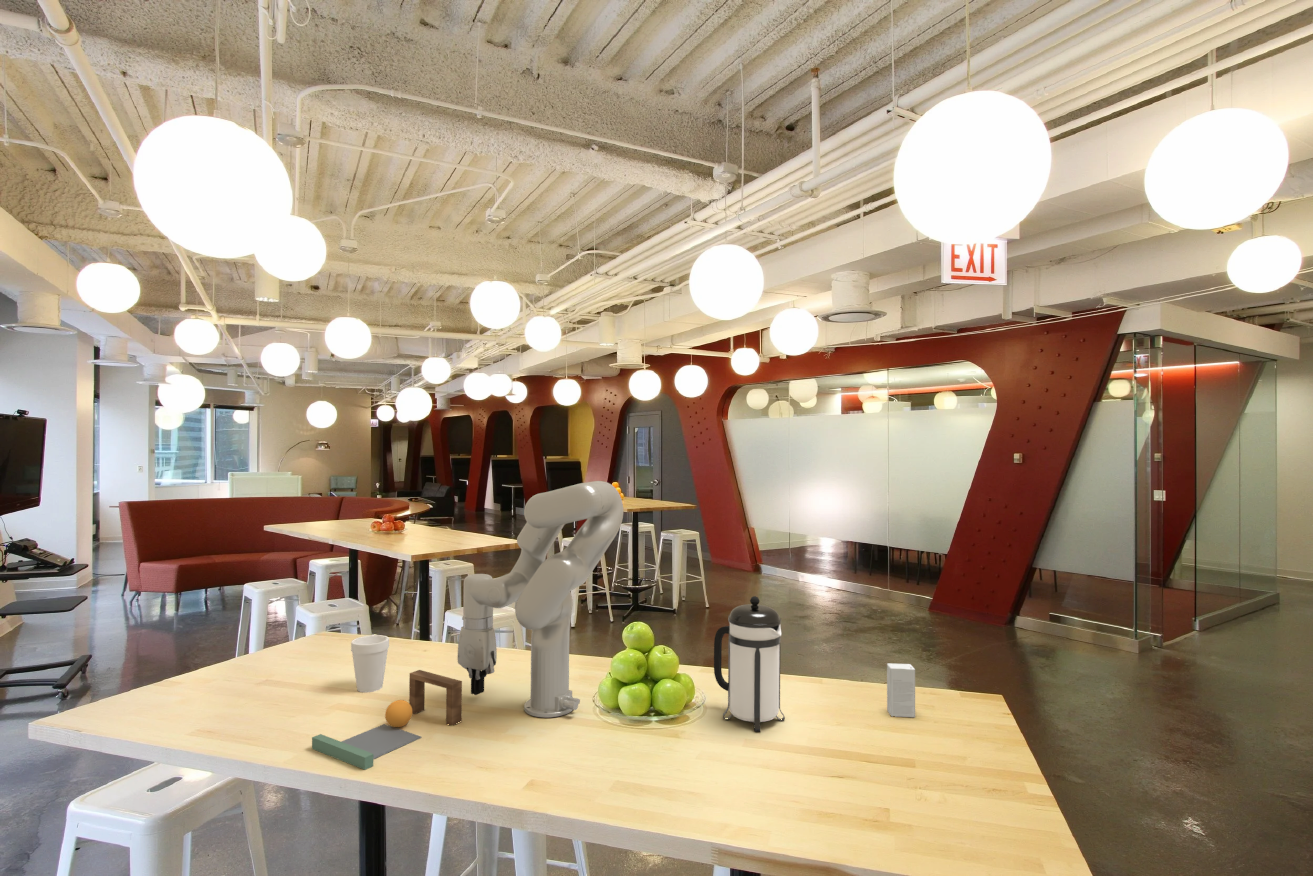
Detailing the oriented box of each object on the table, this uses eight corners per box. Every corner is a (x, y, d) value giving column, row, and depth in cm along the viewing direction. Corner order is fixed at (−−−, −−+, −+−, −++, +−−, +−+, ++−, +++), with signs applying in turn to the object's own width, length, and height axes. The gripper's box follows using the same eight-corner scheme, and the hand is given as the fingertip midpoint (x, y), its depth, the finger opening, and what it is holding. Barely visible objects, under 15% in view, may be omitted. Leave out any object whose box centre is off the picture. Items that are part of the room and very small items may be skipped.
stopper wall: (373, 766, 143) (373, 754, 143) (364, 770, 141) (364, 757, 141) (320, 745, 152) (320, 734, 152) (311, 748, 150) (312, 737, 150)
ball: (411, 696, 162) (389, 712, 158) (420, 718, 163) (399, 734, 159) (398, 693, 166) (376, 708, 162) (407, 714, 167) (386, 730, 163)
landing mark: (421, 737, 157) (421, 736, 157) (371, 760, 145) (371, 759, 145) (384, 724, 163) (384, 724, 163) (333, 745, 152) (333, 744, 152)
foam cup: (362, 697, 180) (363, 647, 180) (344, 689, 186) (344, 640, 186) (395, 687, 188) (396, 639, 188) (376, 679, 194) (377, 633, 194)
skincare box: (910, 711, 174) (911, 663, 174) (915, 718, 170) (915, 669, 170) (886, 710, 175) (886, 662, 175) (890, 716, 171) (890, 668, 171)
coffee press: (781, 707, 176) (782, 589, 176) (787, 734, 160) (788, 604, 160) (713, 704, 178) (714, 587, 178) (712, 730, 162) (713, 602, 162)
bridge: (419, 708, 173) (419, 669, 173) (461, 721, 166) (462, 681, 166) (409, 712, 171) (409, 673, 171) (451, 726, 163) (452, 684, 163)
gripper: (446, 621, 181) (446, 692, 181) (488, 630, 173) (488, 703, 173) (468, 615, 187) (467, 683, 187) (509, 623, 179) (509, 694, 179)
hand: (477, 692), depth 180 cm, fingers closed
